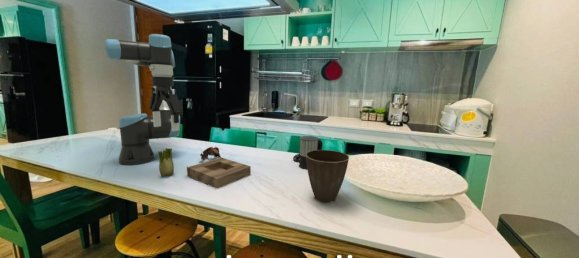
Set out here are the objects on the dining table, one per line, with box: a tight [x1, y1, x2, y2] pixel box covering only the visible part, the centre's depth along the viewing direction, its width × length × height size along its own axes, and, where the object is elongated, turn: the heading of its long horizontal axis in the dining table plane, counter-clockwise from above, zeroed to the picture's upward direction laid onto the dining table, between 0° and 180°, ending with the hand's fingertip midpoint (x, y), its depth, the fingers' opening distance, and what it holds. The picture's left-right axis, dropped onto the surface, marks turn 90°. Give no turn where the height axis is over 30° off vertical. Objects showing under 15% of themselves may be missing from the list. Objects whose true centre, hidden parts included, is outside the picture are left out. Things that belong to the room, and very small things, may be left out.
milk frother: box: [292, 135, 323, 170], centre depth 118 cm, size 14×16×15 cm
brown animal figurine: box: [200, 146, 222, 161], centre depth 121 cm, size 12×10×8 cm
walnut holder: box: [186, 156, 252, 189], centre depth 101 cm, size 20×18×4 cm
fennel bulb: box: [157, 147, 175, 178], centre depth 98 cm, size 6×5×12 cm
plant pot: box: [306, 149, 350, 204], centre depth 82 cm, size 15×15×16 cm
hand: (166, 128), depth 96 cm, fingers open, 13 cm apart
